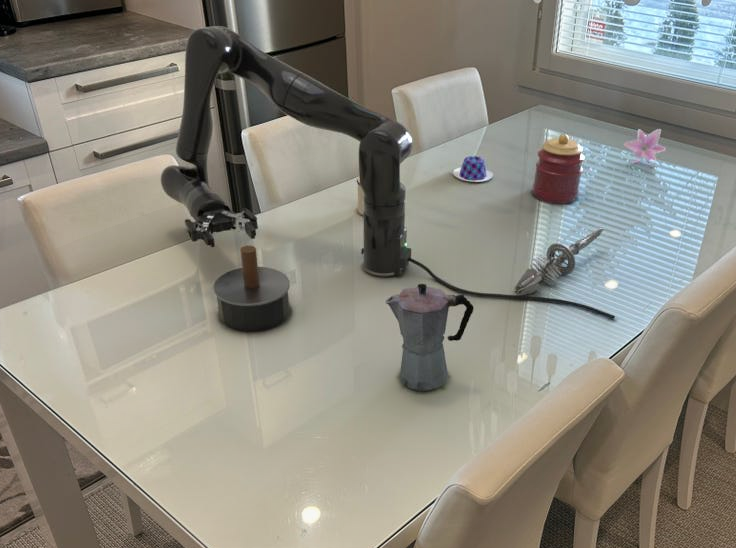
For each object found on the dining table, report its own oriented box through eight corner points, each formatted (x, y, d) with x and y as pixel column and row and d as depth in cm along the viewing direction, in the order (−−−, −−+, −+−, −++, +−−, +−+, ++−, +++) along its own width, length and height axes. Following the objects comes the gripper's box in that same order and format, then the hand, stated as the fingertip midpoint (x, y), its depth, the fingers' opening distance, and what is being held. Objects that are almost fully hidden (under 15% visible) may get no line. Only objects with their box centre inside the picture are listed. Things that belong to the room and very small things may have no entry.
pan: (299, 301, 156) (297, 275, 152) (273, 337, 145) (270, 309, 141) (238, 291, 158) (235, 265, 154) (208, 325, 147) (203, 298, 143)
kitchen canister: (584, 194, 211) (595, 133, 201) (566, 208, 202) (576, 146, 192) (543, 182, 216) (552, 123, 206) (524, 196, 207) (532, 135, 197)
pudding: (493, 185, 213) (495, 167, 210) (452, 182, 213) (454, 165, 210) (491, 169, 223) (493, 152, 219) (452, 167, 222) (453, 150, 219)
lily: (615, 159, 238) (622, 139, 229) (637, 139, 241) (645, 118, 233) (645, 180, 234) (653, 160, 226) (666, 159, 238) (675, 139, 229)
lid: (300, 277, 153) (298, 237, 147) (272, 314, 141) (268, 272, 136) (234, 266, 155) (229, 227, 150) (200, 301, 143) (194, 260, 138)
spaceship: (622, 228, 175) (597, 207, 177) (535, 292, 156) (508, 268, 158) (607, 250, 181) (583, 229, 183) (521, 314, 162) (496, 290, 164)
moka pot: (383, 362, 140) (384, 270, 128) (463, 361, 141) (471, 271, 130) (385, 393, 132) (386, 299, 120) (469, 392, 134) (478, 299, 122)
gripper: (172, 198, 155) (196, 228, 144) (237, 187, 162) (264, 215, 151) (177, 230, 159) (201, 262, 149) (240, 218, 166) (267, 248, 155)
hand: (233, 238), depth 150 cm, fingers open, 8 cm apart
